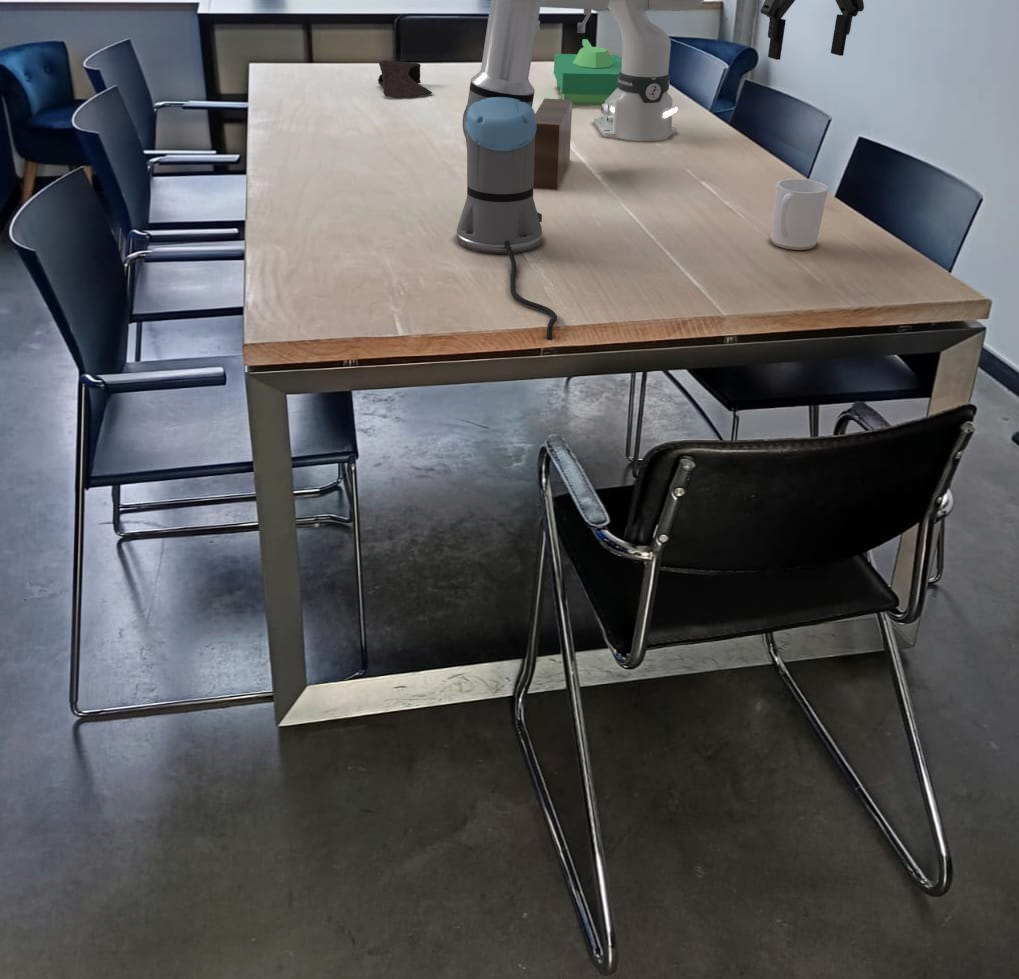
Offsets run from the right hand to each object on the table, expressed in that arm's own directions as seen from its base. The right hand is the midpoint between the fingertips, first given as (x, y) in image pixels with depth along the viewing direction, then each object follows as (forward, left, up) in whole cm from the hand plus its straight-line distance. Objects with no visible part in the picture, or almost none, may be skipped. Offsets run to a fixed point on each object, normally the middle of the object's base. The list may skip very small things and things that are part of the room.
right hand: (558, 31), depth 225 cm
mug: (+59, +25, -27) cm, 70 cm away
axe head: (-81, -16, -27) cm, 87 cm away
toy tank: (-67, +33, -27) cm, 80 cm away
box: (+6, -3, -27) cm, 28 cm away
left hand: (+44, +32, +2) cm, 54 cm away
